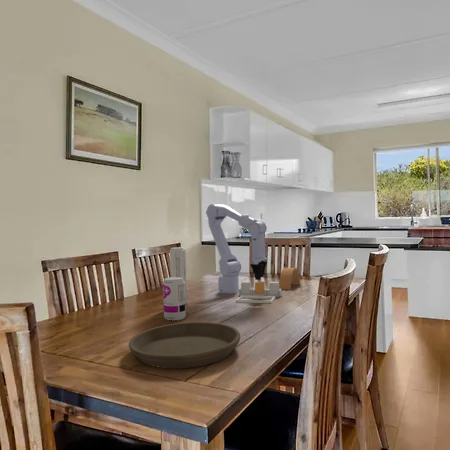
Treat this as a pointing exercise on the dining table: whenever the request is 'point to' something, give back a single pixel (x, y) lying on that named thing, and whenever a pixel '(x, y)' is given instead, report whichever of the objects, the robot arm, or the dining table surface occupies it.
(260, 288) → the block
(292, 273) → the arch
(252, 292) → the fuse block
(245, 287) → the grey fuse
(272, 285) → the block
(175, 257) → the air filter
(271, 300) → the tray
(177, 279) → the supplement can
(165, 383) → the dining table surface
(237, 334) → the plant saucer
